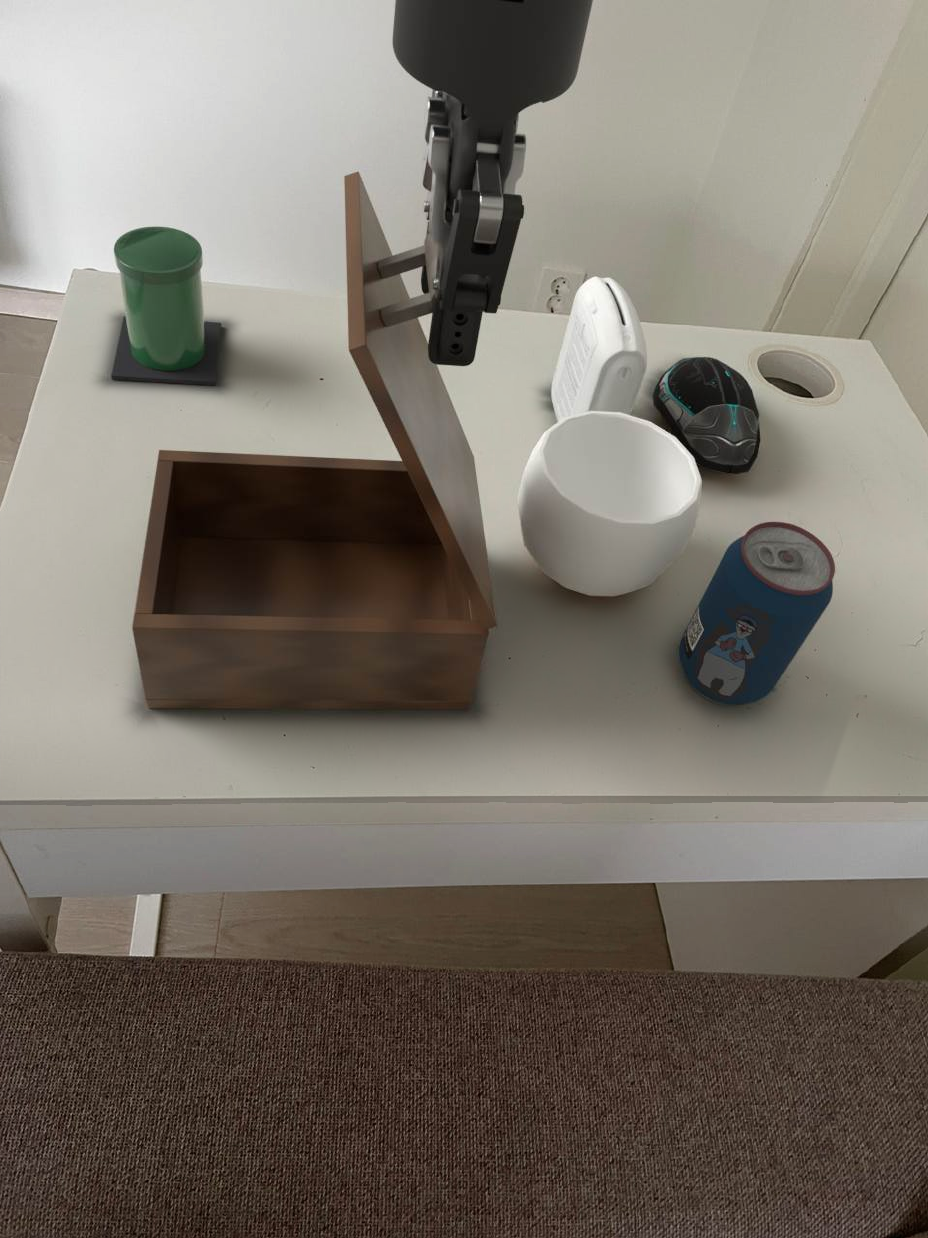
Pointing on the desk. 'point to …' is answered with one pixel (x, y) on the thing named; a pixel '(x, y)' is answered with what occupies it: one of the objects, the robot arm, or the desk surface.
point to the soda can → (756, 613)
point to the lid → (413, 389)
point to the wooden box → (299, 589)
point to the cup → (607, 502)
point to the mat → (196, 374)
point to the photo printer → (600, 353)
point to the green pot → (162, 296)
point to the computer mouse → (710, 413)
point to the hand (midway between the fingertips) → (445, 324)
